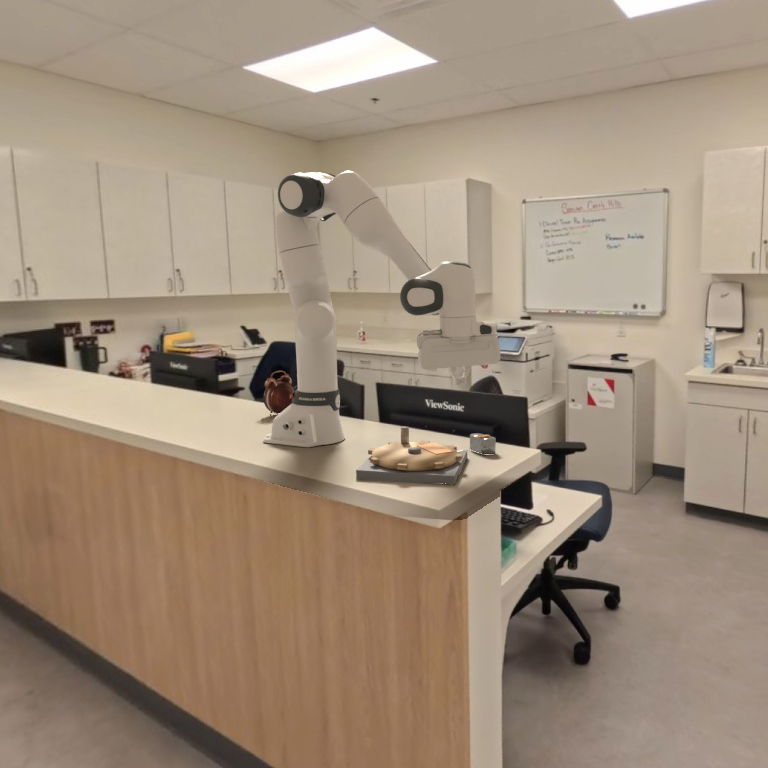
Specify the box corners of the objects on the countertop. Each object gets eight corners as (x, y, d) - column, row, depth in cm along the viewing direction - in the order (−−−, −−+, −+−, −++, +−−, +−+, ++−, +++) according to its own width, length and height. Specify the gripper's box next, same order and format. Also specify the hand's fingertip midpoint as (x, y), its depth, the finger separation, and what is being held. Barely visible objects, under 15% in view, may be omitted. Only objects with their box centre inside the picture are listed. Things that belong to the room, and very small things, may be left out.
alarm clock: (287, 411, 220) (285, 368, 218) (297, 413, 217) (295, 369, 215) (262, 417, 212) (260, 372, 209) (272, 418, 209) (270, 373, 206)
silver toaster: (498, 454, 162) (499, 437, 161) (486, 456, 160) (486, 440, 159) (478, 447, 168) (478, 431, 168) (466, 449, 166) (466, 433, 166)
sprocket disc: (353, 468, 143) (352, 444, 142) (383, 444, 164) (383, 423, 163) (452, 475, 136) (452, 450, 135) (470, 449, 157) (470, 427, 156)
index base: (356, 478, 142) (356, 469, 142) (381, 453, 164) (381, 445, 163) (454, 485, 137) (454, 475, 137) (467, 458, 158) (467, 449, 158)
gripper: (419, 332, 150) (422, 389, 153) (502, 326, 154) (503, 383, 156) (413, 330, 157) (416, 385, 159) (493, 325, 160) (494, 379, 162)
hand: (459, 384), depth 157 cm, fingers closed
